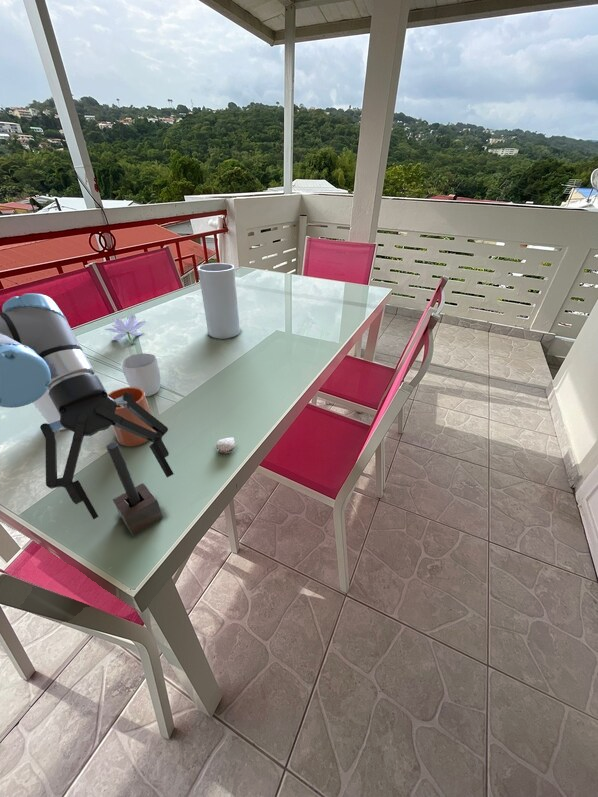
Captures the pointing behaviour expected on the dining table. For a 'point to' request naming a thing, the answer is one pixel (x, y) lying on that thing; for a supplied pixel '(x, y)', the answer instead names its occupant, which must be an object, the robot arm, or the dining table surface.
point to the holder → (138, 510)
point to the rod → (123, 473)
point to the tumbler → (130, 416)
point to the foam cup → (47, 408)
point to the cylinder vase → (219, 299)
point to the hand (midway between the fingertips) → (135, 495)
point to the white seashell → (225, 445)
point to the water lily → (126, 327)
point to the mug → (142, 372)
